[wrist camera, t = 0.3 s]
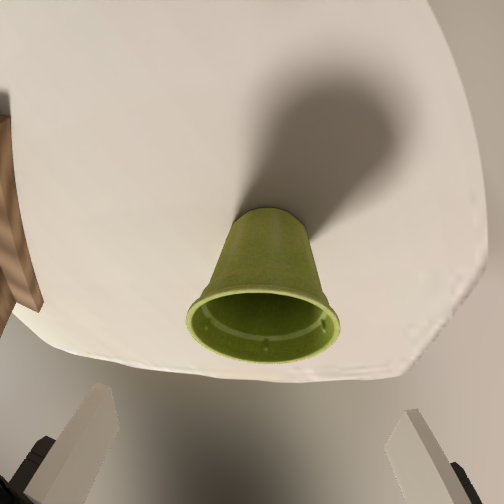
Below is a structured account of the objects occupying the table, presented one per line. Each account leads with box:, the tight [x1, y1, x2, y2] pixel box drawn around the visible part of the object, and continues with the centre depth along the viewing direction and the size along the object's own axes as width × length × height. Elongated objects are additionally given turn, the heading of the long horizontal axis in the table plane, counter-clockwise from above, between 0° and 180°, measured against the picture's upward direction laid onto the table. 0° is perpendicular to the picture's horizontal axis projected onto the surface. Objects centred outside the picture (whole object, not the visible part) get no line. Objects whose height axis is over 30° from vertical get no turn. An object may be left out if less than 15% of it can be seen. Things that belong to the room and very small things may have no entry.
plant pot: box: [186, 208, 340, 364], centre depth 20 cm, size 9×9×9 cm
